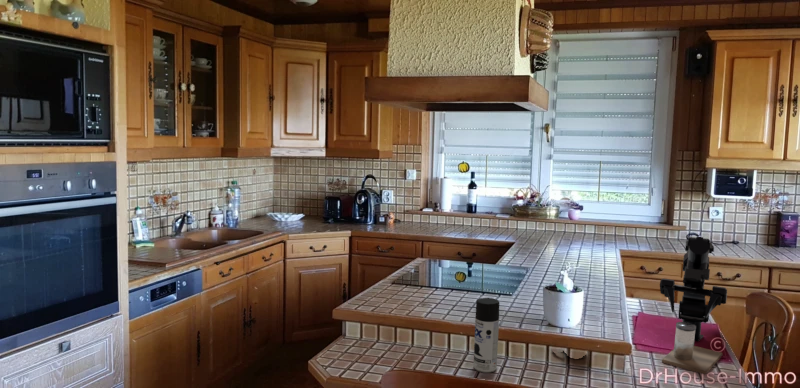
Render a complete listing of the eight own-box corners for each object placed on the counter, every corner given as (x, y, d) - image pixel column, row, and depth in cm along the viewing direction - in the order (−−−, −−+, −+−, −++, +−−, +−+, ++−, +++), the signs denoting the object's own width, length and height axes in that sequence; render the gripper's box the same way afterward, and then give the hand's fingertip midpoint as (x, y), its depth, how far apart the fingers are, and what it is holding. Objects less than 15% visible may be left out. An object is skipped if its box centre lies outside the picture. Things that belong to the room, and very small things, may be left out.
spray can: (469, 365, 176) (471, 298, 173) (489, 361, 179) (491, 296, 176) (480, 374, 170) (483, 305, 167) (501, 371, 173) (504, 303, 170)
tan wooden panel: (680, 345, 194) (681, 342, 194) (722, 356, 187) (722, 352, 186) (661, 362, 181) (662, 359, 181) (705, 374, 173) (705, 371, 173)
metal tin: (672, 352, 186) (675, 320, 185) (692, 354, 184) (695, 323, 183) (673, 358, 181) (676, 326, 180) (693, 361, 179) (696, 329, 178)
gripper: (663, 253, 193) (654, 296, 185) (729, 262, 183) (723, 307, 175) (664, 272, 200) (656, 313, 193) (728, 281, 191) (723, 325, 183)
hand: (688, 314), depth 186 cm, fingers open, 9 cm apart
